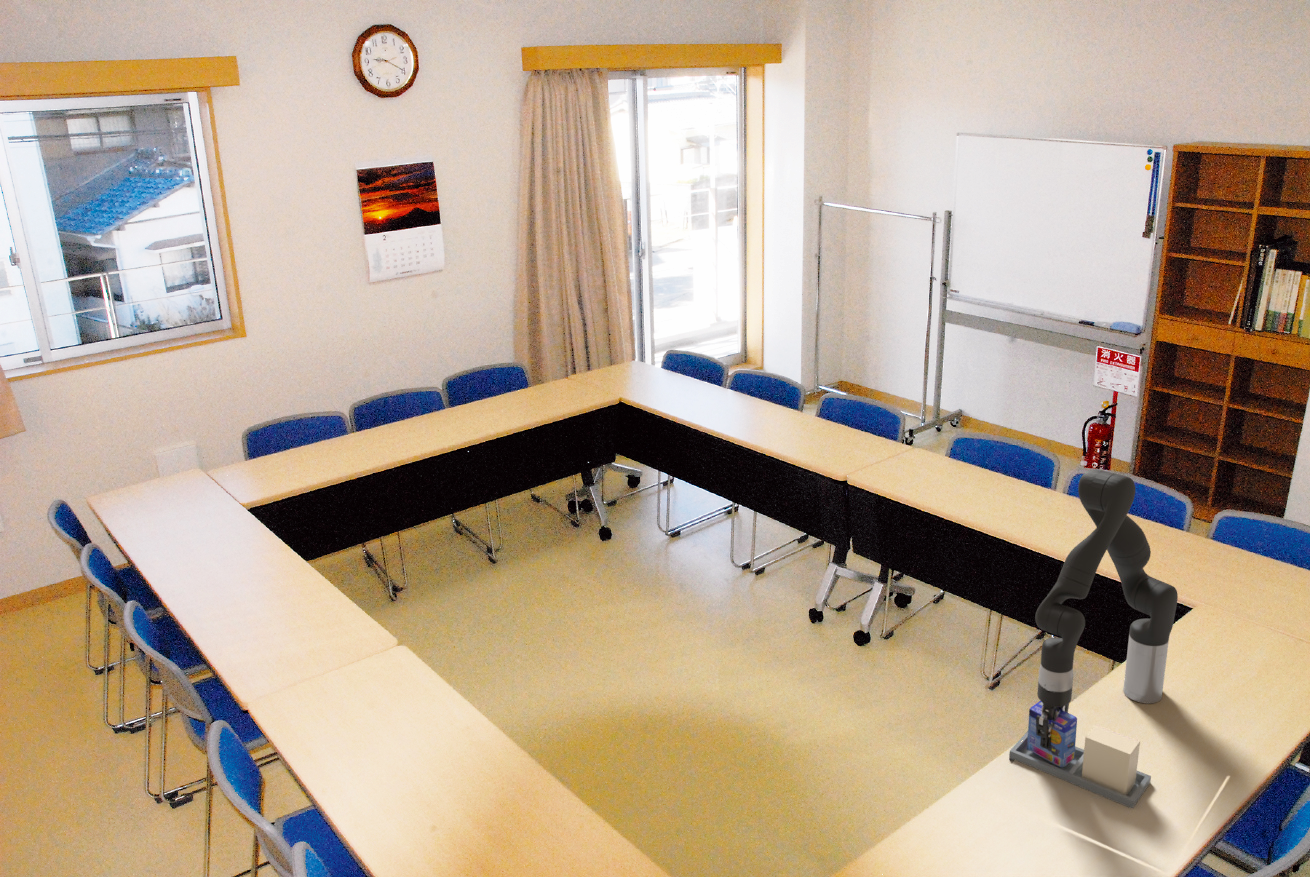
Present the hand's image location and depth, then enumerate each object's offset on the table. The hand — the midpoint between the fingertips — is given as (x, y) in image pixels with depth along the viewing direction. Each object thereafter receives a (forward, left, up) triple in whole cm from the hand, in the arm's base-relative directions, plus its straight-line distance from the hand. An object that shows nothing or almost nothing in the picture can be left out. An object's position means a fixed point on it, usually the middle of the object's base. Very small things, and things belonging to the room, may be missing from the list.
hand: (1050, 740), depth 250 cm
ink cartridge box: (0, 0, -4) cm, 4 cm away
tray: (0, +7, -6) cm, 9 cm away
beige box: (0, +14, -5) cm, 15 cm away
